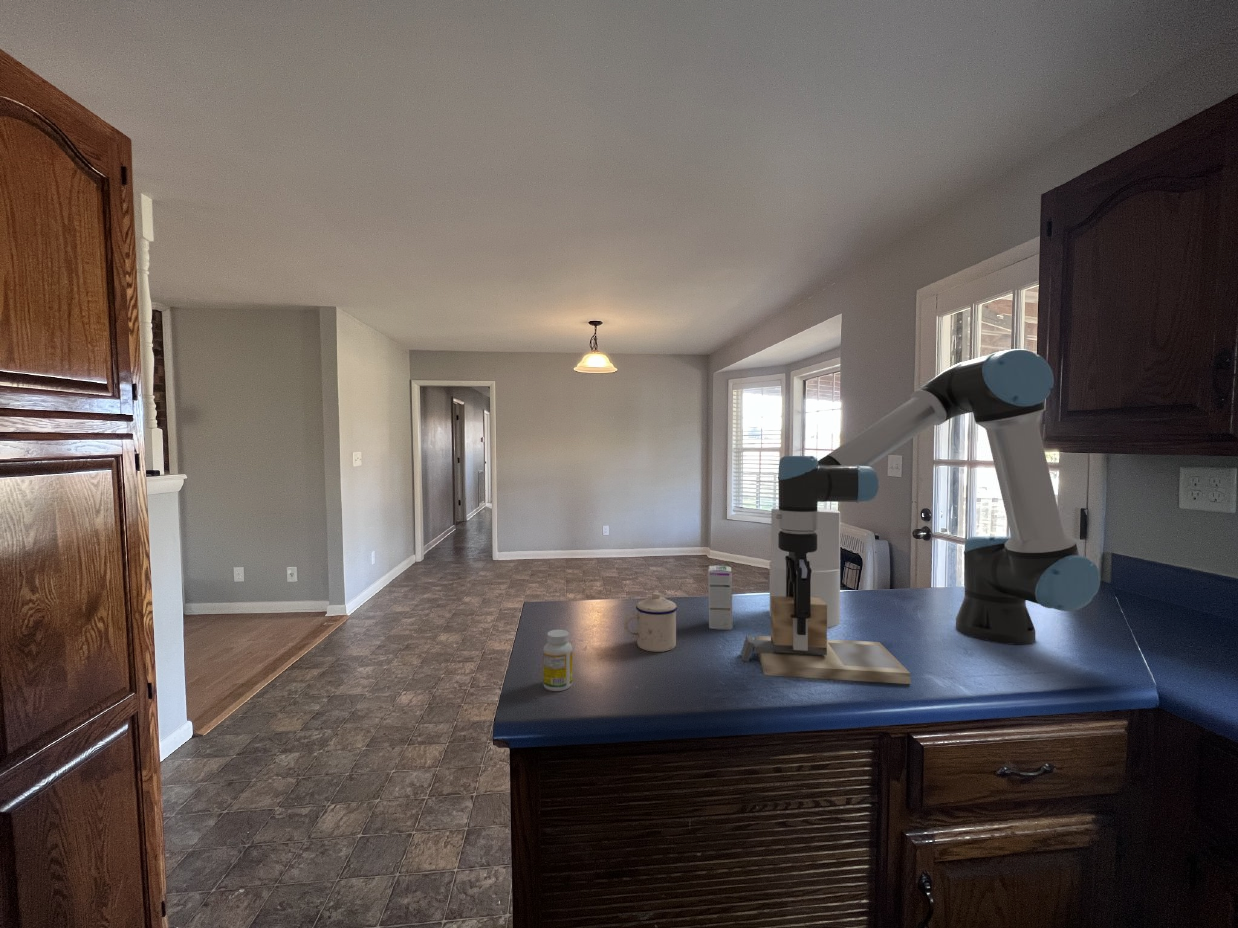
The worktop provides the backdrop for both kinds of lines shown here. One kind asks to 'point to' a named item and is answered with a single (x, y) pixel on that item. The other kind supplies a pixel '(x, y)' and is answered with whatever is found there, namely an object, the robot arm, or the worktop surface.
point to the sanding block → (784, 626)
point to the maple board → (838, 663)
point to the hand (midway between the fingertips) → (797, 644)
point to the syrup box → (720, 597)
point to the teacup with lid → (654, 624)
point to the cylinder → (813, 563)
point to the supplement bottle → (557, 661)
